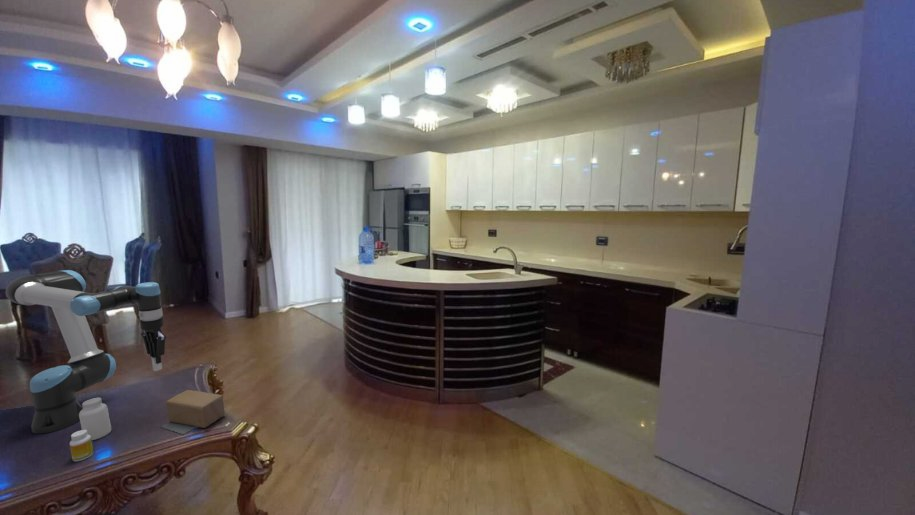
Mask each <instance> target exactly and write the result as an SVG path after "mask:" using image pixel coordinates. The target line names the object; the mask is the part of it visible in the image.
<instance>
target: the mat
mask: <svg viewBox="0 0 915 515" xmlns="http://www.w3.org/2000/svg"><path fill="white" fill-rule="evenodd" d="M160 428H162V429H165V430H167V431H171V432H173V431H174V432H173V433H176V432H177V433H176V434H178V433H180V434H179V435H181V434H182V435H181V436H185V435H187V434H189V433H190V432H192V431H193V430H196V429H198V427H197V426H191V425H186V424H180V423H175V422H170V421H169V422H168V423H165V424H164V425H162V426H161V427H160ZM186 433H187V434H186ZM184 434H185V435H184Z"/></svg>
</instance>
